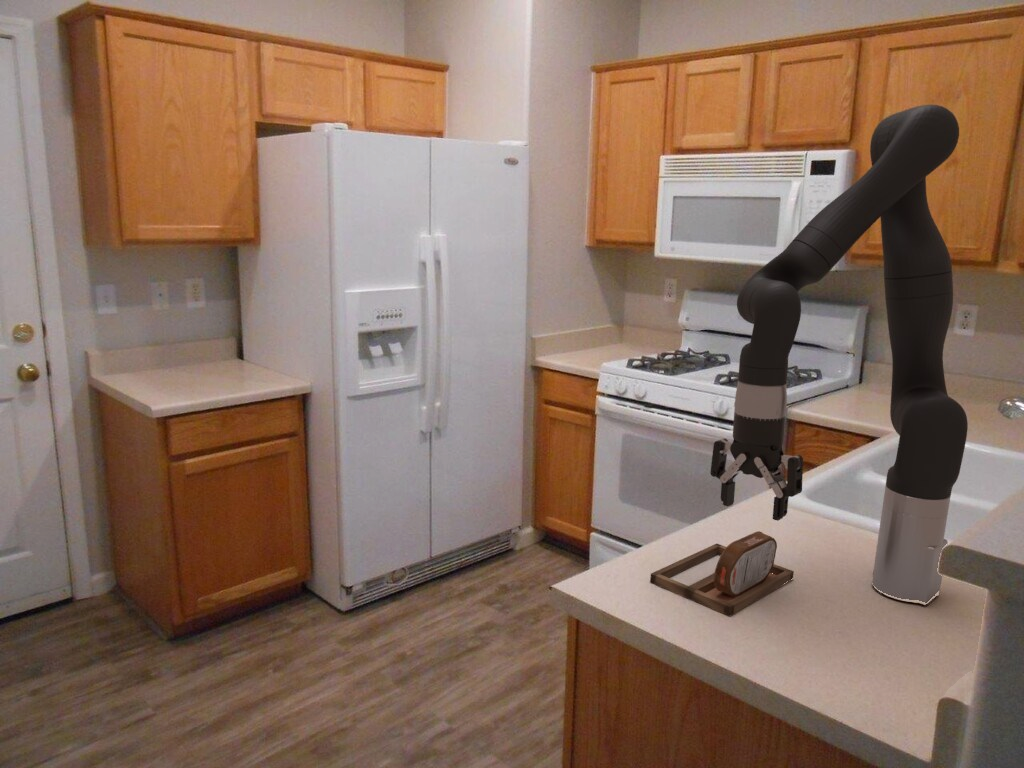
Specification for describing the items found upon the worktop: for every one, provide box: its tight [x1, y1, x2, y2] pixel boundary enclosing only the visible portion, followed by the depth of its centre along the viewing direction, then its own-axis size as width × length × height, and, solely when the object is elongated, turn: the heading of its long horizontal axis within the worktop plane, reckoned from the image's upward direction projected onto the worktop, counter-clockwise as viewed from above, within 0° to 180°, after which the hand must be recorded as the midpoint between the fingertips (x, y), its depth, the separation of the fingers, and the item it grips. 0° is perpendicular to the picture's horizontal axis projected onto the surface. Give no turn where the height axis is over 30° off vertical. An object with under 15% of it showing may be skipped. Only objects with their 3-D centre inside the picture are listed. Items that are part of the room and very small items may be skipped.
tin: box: [714, 530, 778, 596], centre depth 125 cm, size 15×3×8 cm, turn 133°
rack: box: [649, 543, 795, 617], centre depth 129 cm, size 15×20×2 cm
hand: (752, 511), depth 123 cm, fingers open, 8 cm apart
